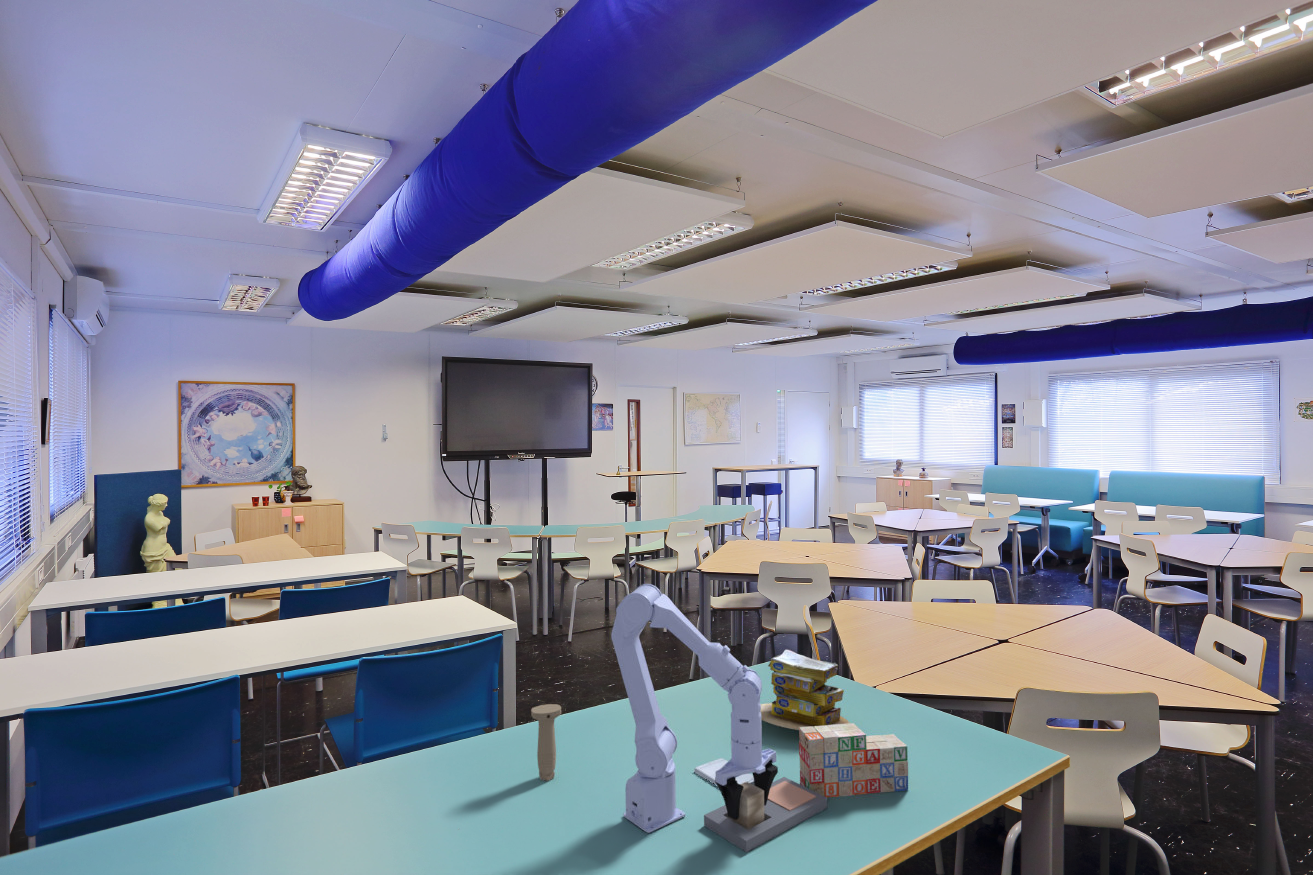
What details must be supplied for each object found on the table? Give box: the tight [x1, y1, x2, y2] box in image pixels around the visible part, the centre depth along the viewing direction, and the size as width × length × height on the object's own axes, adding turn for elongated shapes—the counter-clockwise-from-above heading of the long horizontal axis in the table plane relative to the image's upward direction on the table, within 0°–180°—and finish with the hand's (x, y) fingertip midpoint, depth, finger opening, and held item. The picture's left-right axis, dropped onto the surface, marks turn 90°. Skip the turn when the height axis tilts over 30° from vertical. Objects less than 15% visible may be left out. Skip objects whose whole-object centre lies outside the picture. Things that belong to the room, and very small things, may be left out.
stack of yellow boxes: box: [760, 649, 850, 731], centre depth 176 cm, size 25×25×17 cm
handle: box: [530, 703, 562, 782], centre depth 148 cm, size 5×6×15 cm
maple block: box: [730, 781, 764, 829], centre depth 129 cm, size 4×4×7 cm
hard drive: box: [693, 757, 754, 786], centre depth 148 cm, size 2×8×12 cm
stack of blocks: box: [798, 722, 909, 798], centre depth 143 cm, size 21×6×12 cm, turn 98°
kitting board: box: [703, 776, 828, 853], centre depth 132 cm, size 23×11×2 cm, turn 129°
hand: (747, 810), depth 129 cm, fingers open, 7 cm apart
